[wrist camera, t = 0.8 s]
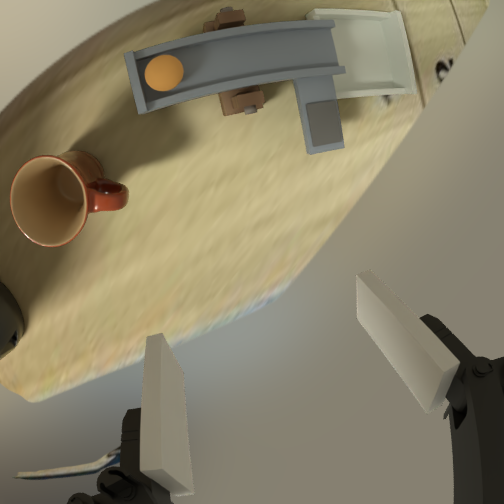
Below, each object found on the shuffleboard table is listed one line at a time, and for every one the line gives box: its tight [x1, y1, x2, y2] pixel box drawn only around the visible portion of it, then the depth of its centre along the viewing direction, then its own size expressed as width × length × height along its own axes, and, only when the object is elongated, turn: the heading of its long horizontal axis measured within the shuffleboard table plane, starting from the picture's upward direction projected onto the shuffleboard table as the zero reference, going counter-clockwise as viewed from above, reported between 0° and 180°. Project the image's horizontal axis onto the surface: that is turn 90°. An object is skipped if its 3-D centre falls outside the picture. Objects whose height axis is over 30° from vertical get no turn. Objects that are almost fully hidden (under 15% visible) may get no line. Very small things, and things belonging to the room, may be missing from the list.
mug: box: [10, 151, 129, 247], centre depth 28 cm, size 12×9×10 cm
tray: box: [305, 9, 417, 99], centre depth 29 cm, size 12×12×4 cm
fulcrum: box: [203, 7, 265, 116], centre depth 26 cm, size 12×11×8 cm
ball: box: [145, 55, 184, 91], centre depth 22 cm, size 3×3×3 cm
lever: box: [124, 20, 346, 155], centre depth 26 cm, size 20×14×3 cm
